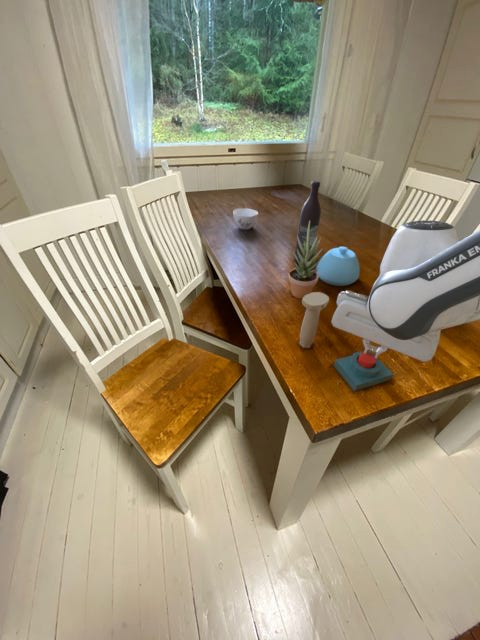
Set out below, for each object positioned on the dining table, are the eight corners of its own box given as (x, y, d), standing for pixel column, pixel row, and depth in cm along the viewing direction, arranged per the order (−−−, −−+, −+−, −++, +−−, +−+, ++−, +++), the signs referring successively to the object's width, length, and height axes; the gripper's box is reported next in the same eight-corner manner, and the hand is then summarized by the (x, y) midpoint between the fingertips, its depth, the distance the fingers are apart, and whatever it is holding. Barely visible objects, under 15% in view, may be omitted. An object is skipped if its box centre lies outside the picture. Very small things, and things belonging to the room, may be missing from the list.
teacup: (253, 233, 133) (254, 217, 128) (229, 230, 136) (229, 214, 131) (261, 223, 145) (262, 207, 140) (239, 220, 148) (239, 205, 142)
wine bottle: (291, 265, 108) (303, 182, 89) (296, 257, 113) (308, 178, 94) (308, 268, 106) (324, 184, 87) (312, 261, 111) (328, 180, 92)
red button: (366, 355, 65) (369, 350, 64) (377, 366, 62) (379, 361, 61) (354, 359, 64) (356, 353, 63) (364, 370, 61) (366, 365, 60)
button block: (367, 356, 70) (372, 345, 67) (390, 380, 64) (396, 368, 61) (333, 365, 67) (337, 354, 64) (354, 391, 61) (359, 380, 59)
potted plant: (291, 283, 97) (302, 212, 82) (317, 290, 94) (334, 217, 78) (281, 297, 90) (291, 222, 75) (309, 305, 87) (325, 228, 71)
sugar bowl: (330, 264, 109) (336, 235, 102) (364, 278, 100) (374, 248, 93) (307, 276, 101) (312, 246, 94) (342, 292, 93) (351, 261, 85)
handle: (320, 345, 72) (333, 299, 63) (302, 355, 70) (313, 308, 60) (307, 335, 76) (318, 289, 66) (290, 344, 73) (298, 297, 63)
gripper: (334, 294, 56) (321, 343, 64) (450, 333, 46) (417, 384, 55) (345, 281, 60) (331, 329, 68) (454, 315, 50) (422, 365, 59)
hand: (370, 354), depth 62 cm, fingers closed
